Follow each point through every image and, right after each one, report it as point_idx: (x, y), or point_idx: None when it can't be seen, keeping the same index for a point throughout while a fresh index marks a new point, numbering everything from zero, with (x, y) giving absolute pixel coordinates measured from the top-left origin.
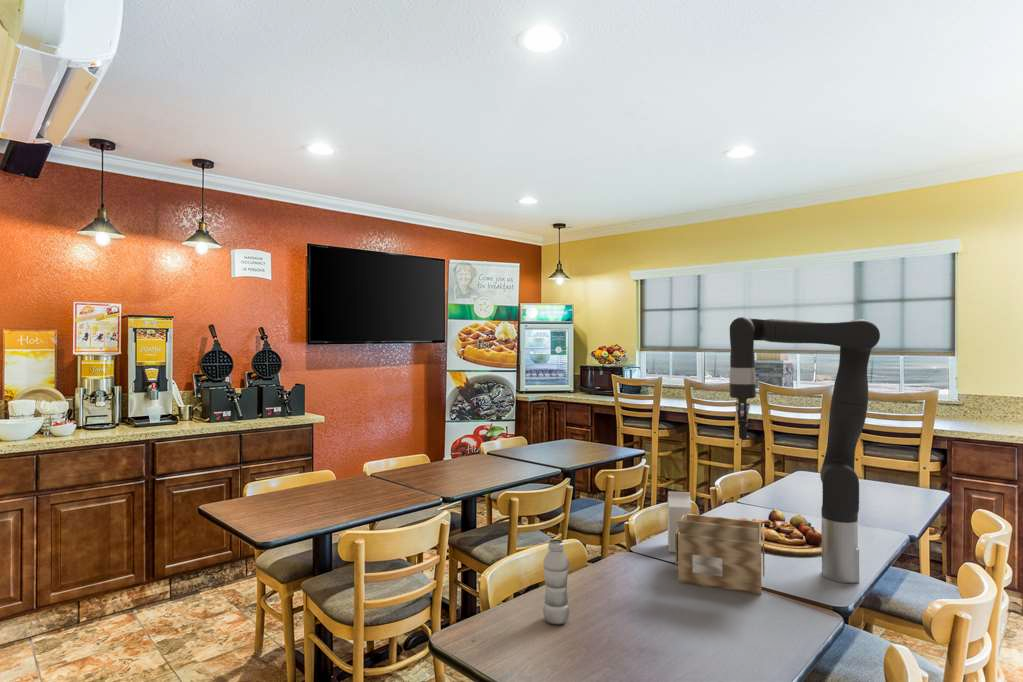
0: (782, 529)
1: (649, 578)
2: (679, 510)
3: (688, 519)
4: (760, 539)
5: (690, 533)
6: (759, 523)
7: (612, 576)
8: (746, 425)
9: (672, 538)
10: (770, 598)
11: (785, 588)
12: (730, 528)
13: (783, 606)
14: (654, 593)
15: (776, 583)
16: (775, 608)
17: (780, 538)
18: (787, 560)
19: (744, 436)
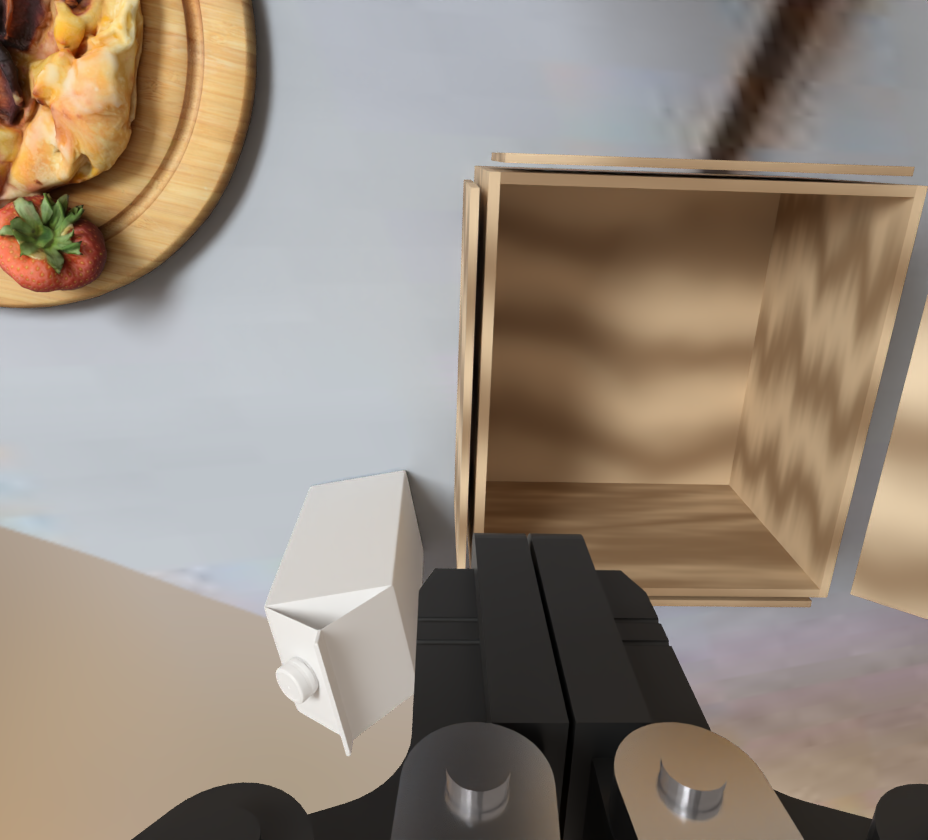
0: None
1: None
2: (407, 629)
3: None
4: (855, 187)
5: (889, 550)
6: (530, 183)
7: (729, 687)
8: (748, 773)
9: (420, 573)
10: (816, 139)
11: (695, 64)
12: None
13: (887, 88)
14: (845, 548)
15: (647, 103)
16: (910, 123)
17: (131, 41)
18: (320, 24)
19: (630, 594)
